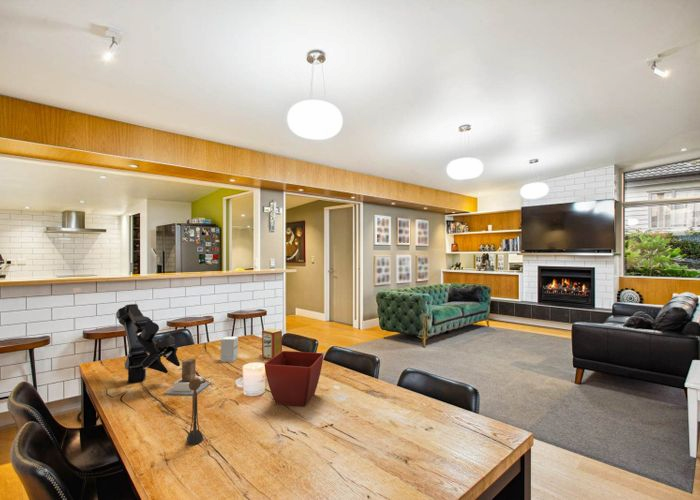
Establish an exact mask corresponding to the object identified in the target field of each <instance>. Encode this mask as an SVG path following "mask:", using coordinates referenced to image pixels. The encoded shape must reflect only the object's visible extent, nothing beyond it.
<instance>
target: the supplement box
mask: <svg viewBox="0 0 700 500" xmlns="http://www.w3.org/2000/svg"><path fill="white" fill-rule="evenodd" d="M237 359H239V336H224V337H223V338H221V339H220V363H234V362H235V361H236V360H237Z"/></svg>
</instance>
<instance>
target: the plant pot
mask: <svg viewBox="0 0 700 500" xmlns="http://www.w3.org/2000/svg"><path fill="white" fill-rule="evenodd" d="M323 362H324V353H321V352H307V351H292V350H291V351H290V350H282V352H280V353H279V354H277V355H276V356H275V357H273V358H272V359H271V360H268V361H266V362H264V371H265V375H266V380H267V383H268V387H269V390H270V393H271V395H272V399H273V401H274V404H276V405H282V406H283V405H284V406H291V407H292V406H293V407H307V405H308V404H309V402H310V401H311V400H312V398H313V397H314V395H315V393H316V391H317V388H318V384H319V380H320V376H321V372H322V367H323Z"/></svg>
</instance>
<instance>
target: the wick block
mask: <svg viewBox="0 0 700 500" xmlns="http://www.w3.org/2000/svg"><path fill="white" fill-rule="evenodd" d="M195 376H196V358H186V359H184V360H182V361H181V378H182V382H190V381H191V380H192V379H193V378H195Z"/></svg>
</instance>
